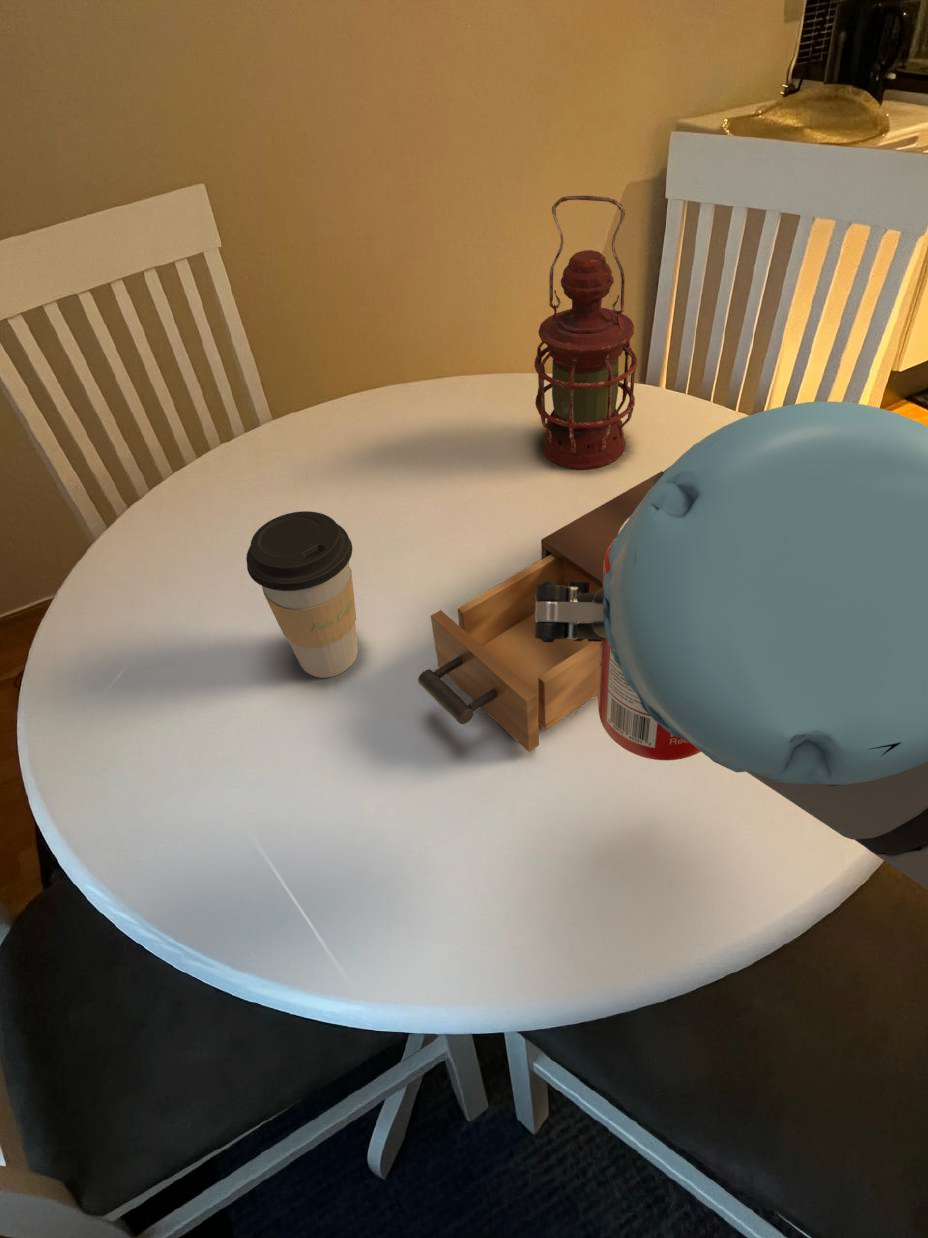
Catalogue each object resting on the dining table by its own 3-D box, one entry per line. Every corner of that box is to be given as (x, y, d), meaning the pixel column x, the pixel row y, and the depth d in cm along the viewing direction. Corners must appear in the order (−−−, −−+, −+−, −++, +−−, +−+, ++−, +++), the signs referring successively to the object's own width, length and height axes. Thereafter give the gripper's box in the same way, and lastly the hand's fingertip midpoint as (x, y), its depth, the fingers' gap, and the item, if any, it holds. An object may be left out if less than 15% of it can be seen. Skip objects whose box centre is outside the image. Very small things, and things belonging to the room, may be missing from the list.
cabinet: (646, 684, 77) (653, 617, 71) (542, 604, 86) (540, 539, 80) (763, 602, 84) (778, 534, 78) (655, 535, 92) (661, 470, 86)
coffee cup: (351, 699, 79) (319, 581, 68) (264, 681, 81) (220, 564, 71) (389, 631, 85) (365, 513, 75) (307, 616, 88) (273, 499, 77)
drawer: (489, 780, 70) (484, 729, 65) (400, 689, 78) (390, 638, 73) (655, 664, 77) (661, 612, 73) (559, 593, 86) (558, 541, 81)
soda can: (594, 764, 52) (601, 584, 42) (600, 672, 57) (607, 492, 47) (725, 774, 51) (765, 591, 40) (718, 679, 56) (751, 496, 46)
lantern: (642, 427, 108) (660, 178, 88) (619, 480, 100) (633, 219, 80) (552, 416, 112) (549, 174, 91) (523, 465, 104) (513, 213, 84)
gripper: (429, 702, 32) (499, 674, 54) (1016, 728, 28) (831, 687, 51) (435, 505, 32) (502, 559, 54) (1021, 509, 28) (833, 565, 51)
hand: (661, 621), depth 53 cm, fingers closed on soda can, 8 cm apart
